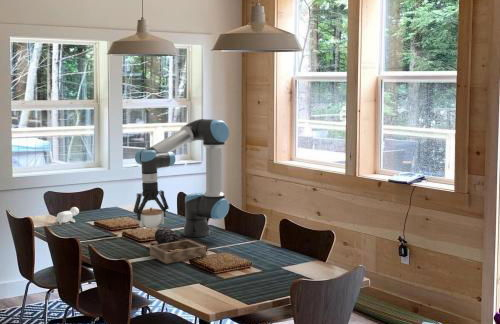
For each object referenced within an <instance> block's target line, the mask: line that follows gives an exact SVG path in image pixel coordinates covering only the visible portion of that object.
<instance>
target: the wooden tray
mask: <svg viewBox="0 0 500 324" xmlns="http://www.w3.org/2000/svg"><path fill="white" fill-rule="evenodd" d="M157 244H158V243H157ZM157 244H154V245H149V256H150V257H152V258H154V259H156V260H158V261H160V262H162V263H164V264H172V263H177V262H183V261H187V260H188V261H189V260H191V259H190V258H194V257H199V256H206V257H207V246H206V245H203V244H201V243H199V242H198V243H197V242H195V241H193V240H191V239H189V238H188V239H183V240H182V239H181V240H179V241H176V242H170V243H164V244H158V245H157ZM175 249H183V250H177V251H171V252H168V251H169V250H175Z"/></svg>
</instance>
